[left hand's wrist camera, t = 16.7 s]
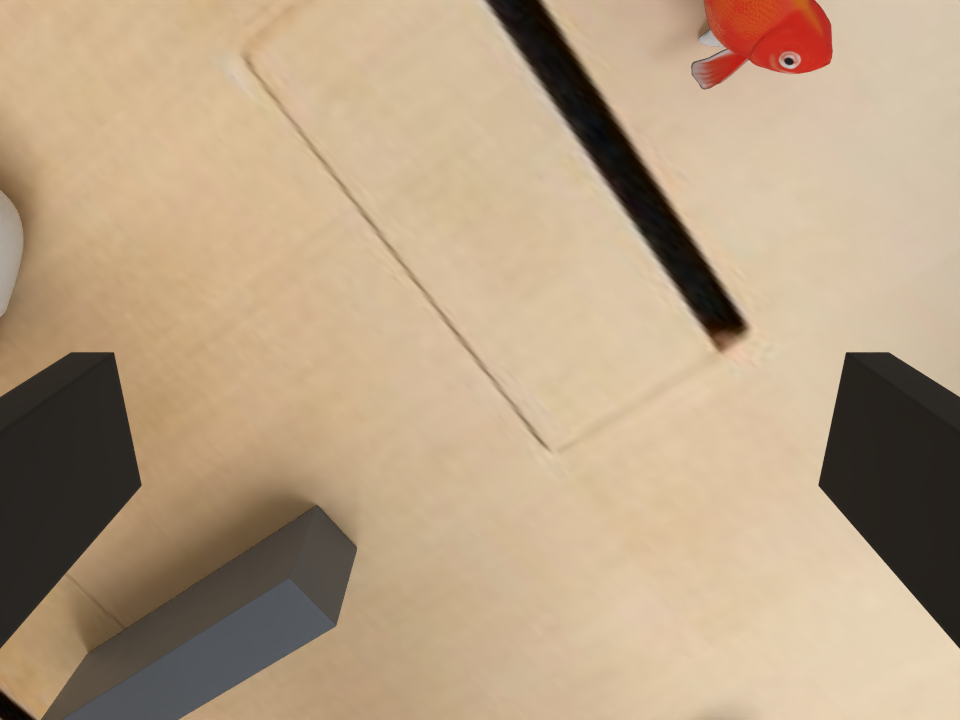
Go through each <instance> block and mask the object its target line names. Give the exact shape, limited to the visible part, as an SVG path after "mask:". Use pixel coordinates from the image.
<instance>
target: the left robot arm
mask: <svg viewBox="0 0 960 720" xmlns="http://www.w3.org/2000/svg"><path fill="white" fill-rule="evenodd" d="M141 486H142V485H141V480H140V475H139V471H138V466H137V461H136V456H135V451H134V447H133V442H132V437H131V432H130V427H129V423H128V418H127V413H126V408H125V403H124V399H123V394H122V389H121V384H120V379H119V375H118V370H117V365H116V360H115V355H114V352H71V353H69V354H68V355H66V356H65V357H63V358H62V359H60V360H58V361H57V362H55V363H54V364H52V365H50V366H49V367H47V368H46V369H44V370H42V371H41V372H39V373H38V374H36V375H35V376H33V377H31V378H30V379H28V380H27V381H25V382H23V383H22V384H20V385H19V386H17V387H15V388H14V389H12V390H11V391H9V392H8V393H6V394H4V395H3V396H1V397H0V648H1V647H2V646H3V645H4V644H5V643H6V641H7V640H8V639H9V638H10V637H11V636H12V634H13V633H14V632H15V631H16V630H17V629H18V628H19V626H20V625H21V624H22V623H23V622H24V621H25V619H26V618H27V617H28V616H29V615H30V614H31V613H32V611H33V610H34V609H35V608H36V607H37V606H38V604H39V603H40V602H41V601H42V600H43V599H44V598H45V596H46V595H47V594H48V593H49V592H50V591H51V589H52V588H53V587H54V586H55V585H56V584H57V583H58V581H59V580H60V579H61V578H62V577H63V576H64V574H65V573H66V572H67V571H68V570H69V569H70V568H71V566H72V565H73V564H74V563H75V562H76V561H77V559H78V558H79V557H80V556H81V555H82V554H83V553H84V551H85V550H86V549H87V548H88V547H89V546H90V544H91V543H92V542H93V541H94V540H95V539H96V538H97V536H98V535H99V534H100V533H101V532H102V531H103V529H104V528H105V527H106V526H107V525H108V524H109V523H110V521H111V520H112V519H113V518H114V517H115V516H116V514H117V513H118V512H119V511H120V510H121V509H122V508H123V506H124V505H125V504H126V503H127V502H128V501H129V499H130V498H131V497H132V496H133V495H134V494H135V493H136V491H137V490H138V489H139V488H140V487H141ZM818 486H819V487H820V488H821V489H822V490H823V491H824V493H825V494H826V495H827V496H828V497H829V498H830V499H831V501H832V502H833V503H834V504H835V505H836V506H837V508H838V509H839V510H840V511H841V512H842V513H843V514H844V516H845V517H846V518H847V519H848V520H849V521H850V523H851V524H852V525H853V526H854V527H855V528H856V529H857V531H858V532H859V533H860V534H861V535H862V536H863V538H864V539H865V540H866V541H867V542H868V543H869V544H870V546H871V547H872V548H873V549H874V550H875V551H876V553H877V554H878V555H879V556H880V557H881V558H882V559H883V561H884V562H885V563H886V564H887V565H888V566H889V568H890V569H891V570H892V571H893V572H894V573H895V574H896V576H897V577H898V578H899V579H900V580H901V581H902V583H903V584H904V585H905V586H906V587H907V588H908V589H909V591H910V592H911V593H912V594H913V595H914V596H915V598H916V599H917V600H918V601H919V602H920V603H921V604H922V606H923V607H924V608H925V609H926V610H927V611H928V613H929V614H930V615H931V616H932V617H933V618H934V619H935V621H936V622H937V623H938V624H939V625H940V626H941V628H942V629H943V630H944V631H945V632H946V633H947V634H948V636H949V637H950V638H951V639H952V640H953V641H954V643H955V644H956V645H957V646H958V647H959V648H960V397H959V396H957V395H956V394H954V393H952V392H951V391H949V390H948V389H946V388H945V387H943V386H941V385H940V384H938V383H937V382H935V381H933V380H932V379H930V378H929V377H927V376H925V375H924V374H922V373H921V372H919V371H918V370H916V369H914V368H913V367H911V366H910V365H908V364H906V363H905V362H903V361H902V360H900V359H898V358H897V357H895V356H894V355H892V354H891V353H889V352H846V355H845V360H844V365H843V370H842V375H841V379H840V384H839V389H838V394H837V399H836V403H835V408H834V413H833V418H832V423H831V427H830V432H829V437H828V442H827V447H826V451H825V456H824V461H823V466H822V471H821V475H820V480H819V485H818Z"/></svg>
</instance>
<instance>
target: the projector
mask: <svg viewBox="0 0 960 720" xmlns="http://www.w3.org/2000/svg"><path fill="white" fill-rule="evenodd" d="M23 247H24V236H23V228H22V222H21V219H20V216H19V213H18V211H17V209H16V208H15V206H14V204H13V203H12V202H11V200H10V199H9V198H8V197H7V196H6V195H5V194H4V193H3V192H2V191H1V190H0V317H1V316H2V315H3V314H4V313H5V311H6V310H7V307H8V304H9V301H10V298H11V295H12V292H13V289H14V285H15V282H16V279H17V276H18V272H19V268H20V264H21V260H22V254H23Z"/></svg>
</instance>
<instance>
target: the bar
mask: <svg viewBox="0 0 960 720" xmlns="http://www.w3.org/2000/svg"><path fill="white" fill-rule="evenodd" d="M356 551H357V547H356V546H355V545H354V544H353V543H352V542H351V541H350V540H349V539H348V538H347V537H346V536H345V535H344V533H343V532H342V531H341V530H340V529H339V528H338V527H337V526H336V525H335V524H334V523H333V522H332V521H331V519H330V518H329V517H328V516H327V515H326V514H325V513H324V512H323V511H322V510H321V509H320V508H319V507H318V506H315V507H314V508H312V509H311V510H309V511H308V512H306V513H304V514H303V515H301V516H300V517H298V518H297V519H295V520H294V521H292V522H291V523H289V524H287V525H286V526H284V527H283V528H281V529H280V530H278V531H277V532H275V533H274V534H272V535H270V536H269V537H267V538H266V539H264V540H263V541H261V542H260V543H258V544H257V545H255V546H253V547H252V548H250V549H249V550H247V551H246V552H244V553H243V554H241V555H239V556H238V557H236V558H235V559H233V560H232V561H230V562H229V563H227V564H226V565H224V566H222V567H221V568H219V569H218V570H216V571H215V572H213V573H212V574H210V575H209V576H207V577H205V578H204V579H202V580H201V581H199V582H198V583H196V584H195V585H193V586H192V587H190V588H188V589H187V590H185V591H184V592H182V593H181V594H179V595H178V596H176V597H174V598H173V599H171V600H170V601H168V602H167V603H165V604H164V605H162V606H161V607H159V608H157V609H156V610H154V611H153V612H151V613H150V614H148V615H147V616H145V617H144V618H142V619H140V620H139V621H137V622H136V623H134V624H133V625H131V626H130V627H128V628H127V629H125V630H123V631H122V632H120V633H119V634H117V635H116V636H114V637H113V638H111V639H109V640H108V641H106V642H105V643H103V644H102V645H100V646H99V647H97V648H96V649H94V650H92V651H91V652H89V653H88V654H87V655H86V656H85V658H84V659H83V661H82V662H81V663H80V665H79V666H78V668H77V669H76V671H75V672H74V673H73V675H72V676H71V678H70V679H69V681H68V682H67V683H66V685H65V686H64V688H63V689H62V691H61V692H60V693H59V695H58V696H57V698H56V699H55V700H54V702H53V703H52V705H51V706H50V708H49V709H48V710H47V712H46V713H45V715H44V716H43V718H42V719H41V720H178V719H180V718H182V717H183V716H185V715H187V714H189V713H190V712H192V711H194V710H195V709H197V708H199V707H200V706H202V705H204V704H205V703H207V702H209V701H210V700H212V699H214V698H216V697H217V696H219V695H221V694H222V693H224V692H226V691H227V690H229V689H231V688H232V687H234V686H236V685H237V684H239V683H241V682H242V681H244V680H246V679H248V678H249V677H251V676H253V675H254V674H256V673H258V672H259V671H261V670H263V669H264V668H266V667H268V666H269V665H271V664H273V663H275V662H276V661H278V660H280V659H281V658H283V657H285V656H286V655H288V654H290V653H291V652H293V651H295V650H296V649H298V648H300V647H302V646H303V645H305V644H307V643H308V642H310V641H312V640H313V639H315V638H317V637H318V636H320V635H322V634H323V633H325V632H327V631H329V630H330V629H332V628H334V627H335V626H336V625H337V621H338V617H339V614H340V610H341V606H342V603H343V599H344V595H345V591H346V588H347V584H348V580H349V577H350V573H351V569H352V566H353V562H354V558H355V555H356Z"/></svg>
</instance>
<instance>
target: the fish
mask: <svg viewBox="0 0 960 720" xmlns="http://www.w3.org/2000/svg"><path fill="white" fill-rule="evenodd" d="M705 12H706V17H707V21H708V24H709V27H710V29H709V30H708V31H707V32H706V33H704V34H703V35H702V36H701V37H700V38H699V42H700V43H701V44H702V45H708V46H720V47H726V48H727V49H725V50H723V51H721V52H719V53H717V54H715V55H713V56H711V57H709V58H706V59H703V60H699V61H695V62H693V63H692V66H691V68H692V76H693V77H694V78H695V79H696V81H697V82H698V83H699V85H700V86H701V88H702V89H709V88H711V87H713V86H715V85H716V84H719V83H721V82H723V81H724V80H726V79H727V78H728V77H729V76H731V75H732V74H733V73H734V72H735V71H736V70H737V69H739V68H740V67H741V66H742V65H743V64H744V63H745V62H746V61H747V60H750V61H751V62H752V63H753V64H755V65H757V66H760V67H763V68H767V69H770V70H773V71H777V72H781V73H786V74H800V73H805V72H810V71H814V70H817V69H819V68H822V67H824V66H826V65H828V64H830V61H831V58H832V52H833V51H832V34H831V23H830V21H829V19H828V18H827V16H826V14H825V12H824V11H823V9H822V8H821V7H820V5H819V4H818V3H817V2H816V1H815V0H705Z"/></svg>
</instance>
